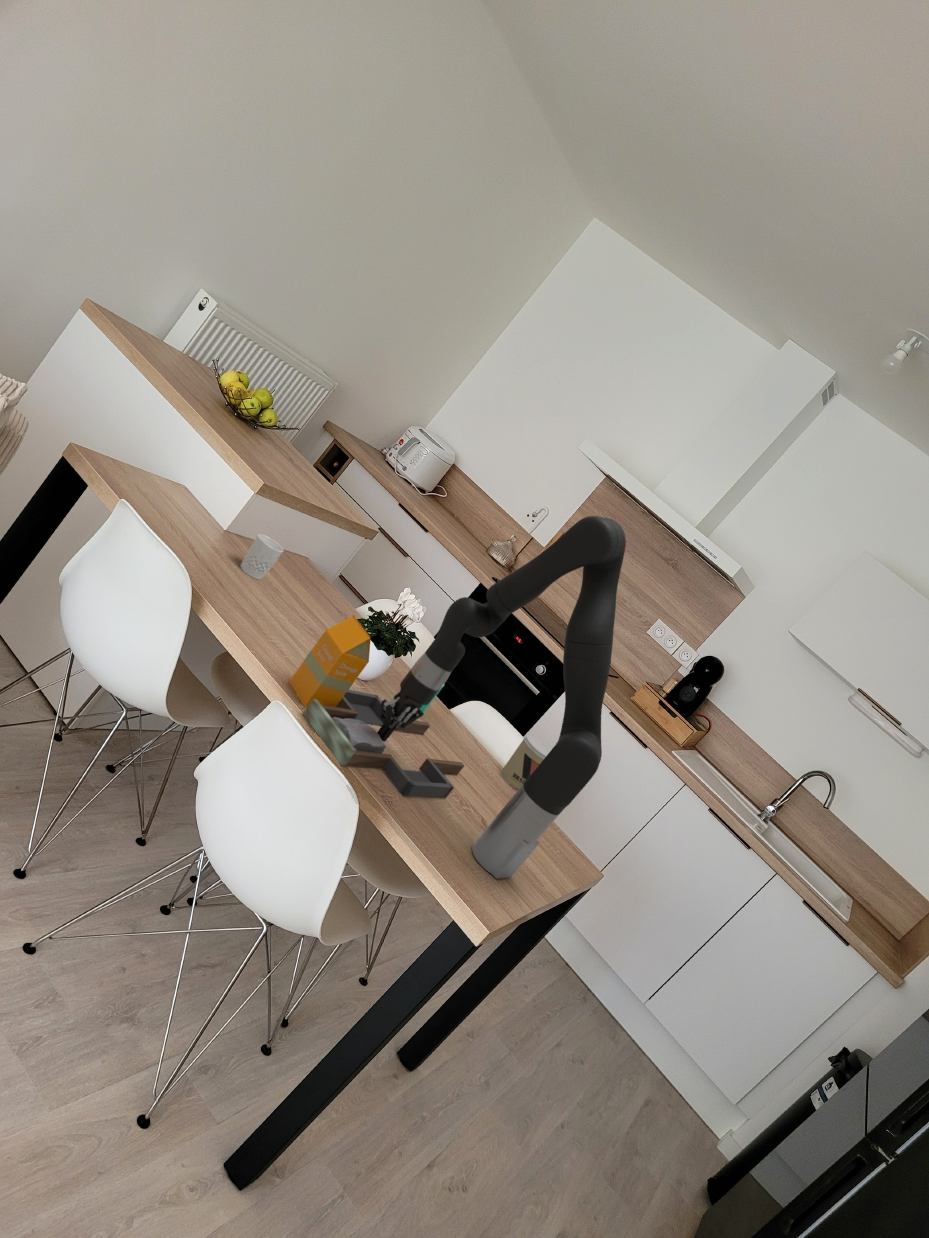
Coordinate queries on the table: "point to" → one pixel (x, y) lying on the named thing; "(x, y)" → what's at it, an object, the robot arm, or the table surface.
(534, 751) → the beige canister
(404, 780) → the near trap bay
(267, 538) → the white cup
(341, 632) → the orange juice
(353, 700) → the tray
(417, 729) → the corridor
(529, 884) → the table surface
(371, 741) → the stone block
